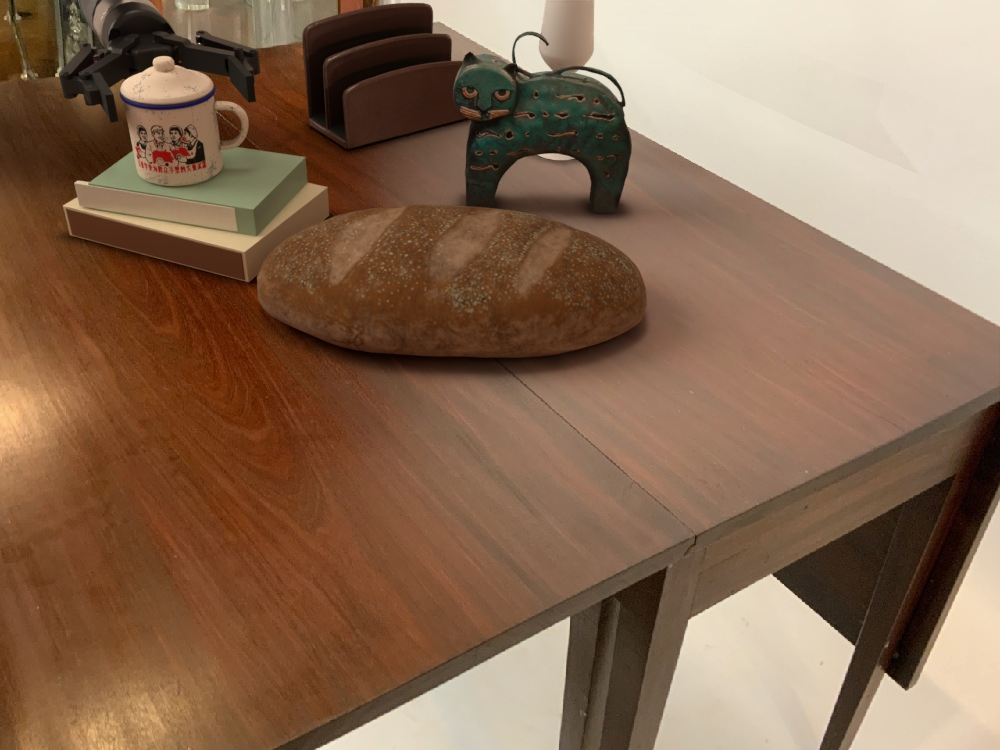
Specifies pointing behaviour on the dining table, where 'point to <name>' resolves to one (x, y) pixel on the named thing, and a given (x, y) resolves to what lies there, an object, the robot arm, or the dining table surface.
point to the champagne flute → (567, 39)
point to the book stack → (202, 212)
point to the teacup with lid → (176, 124)
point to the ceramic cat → (540, 124)
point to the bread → (451, 283)
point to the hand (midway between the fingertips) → (183, 98)
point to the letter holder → (378, 74)
